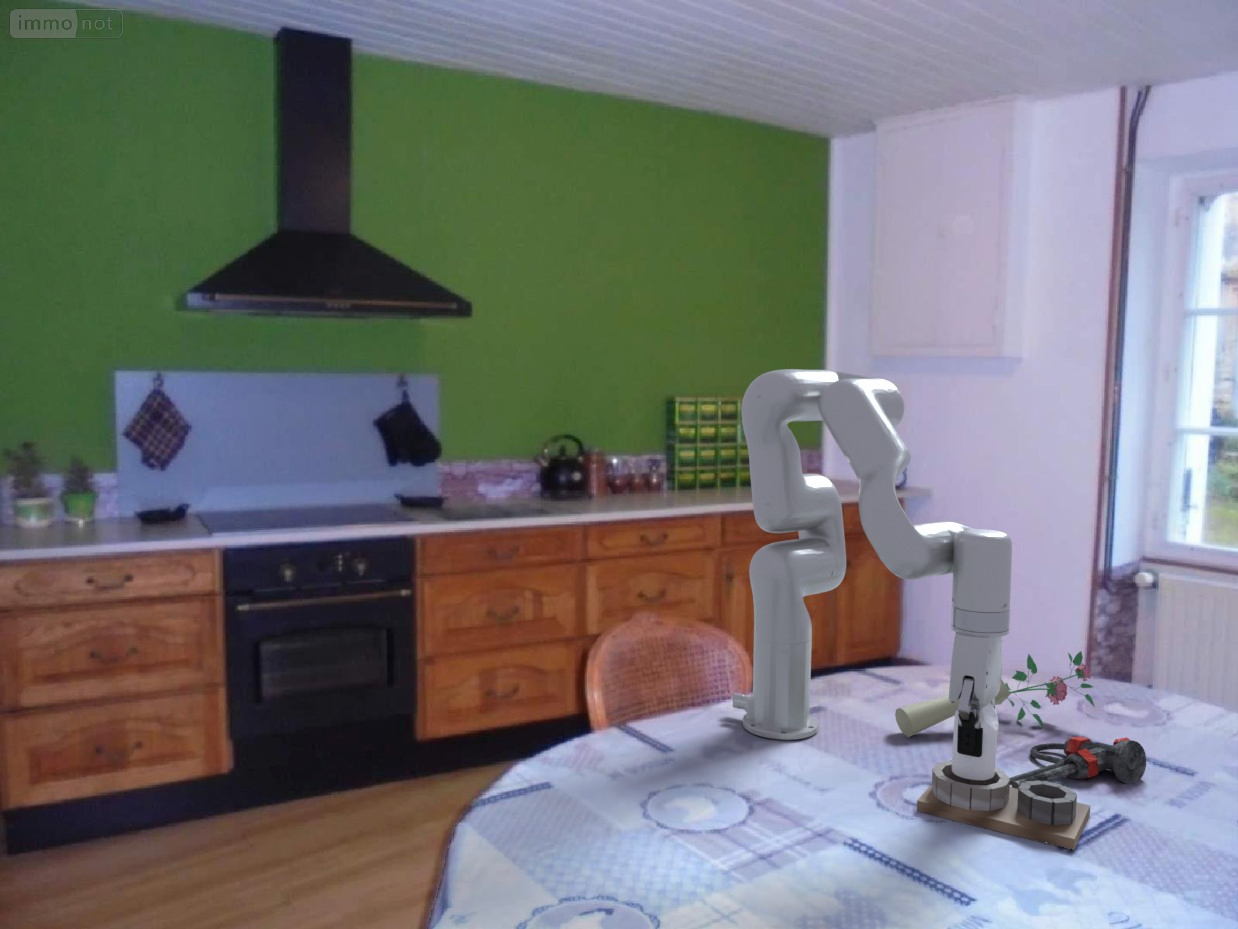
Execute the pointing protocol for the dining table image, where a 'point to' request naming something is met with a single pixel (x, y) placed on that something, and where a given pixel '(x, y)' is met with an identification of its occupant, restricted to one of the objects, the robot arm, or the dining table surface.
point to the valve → (1088, 761)
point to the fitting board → (1007, 806)
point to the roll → (986, 763)
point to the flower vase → (941, 708)
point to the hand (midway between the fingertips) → (975, 746)
